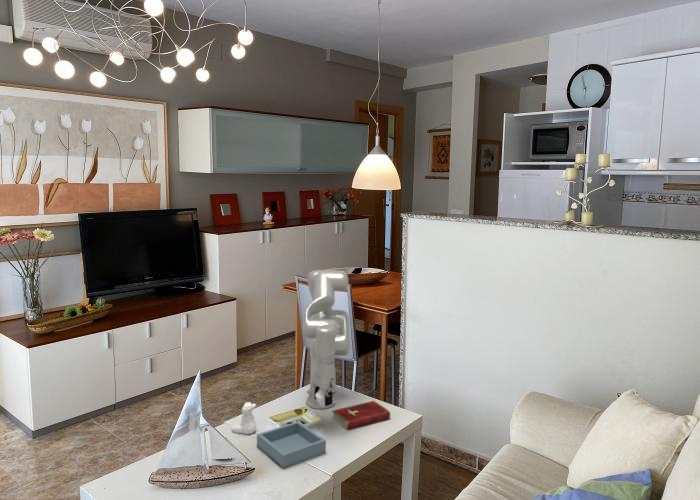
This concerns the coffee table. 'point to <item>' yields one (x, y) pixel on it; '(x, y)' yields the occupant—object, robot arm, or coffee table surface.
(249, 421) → the white creature statuette
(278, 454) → the bin
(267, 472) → the coffee table surface
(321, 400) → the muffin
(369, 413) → the hardcover book
